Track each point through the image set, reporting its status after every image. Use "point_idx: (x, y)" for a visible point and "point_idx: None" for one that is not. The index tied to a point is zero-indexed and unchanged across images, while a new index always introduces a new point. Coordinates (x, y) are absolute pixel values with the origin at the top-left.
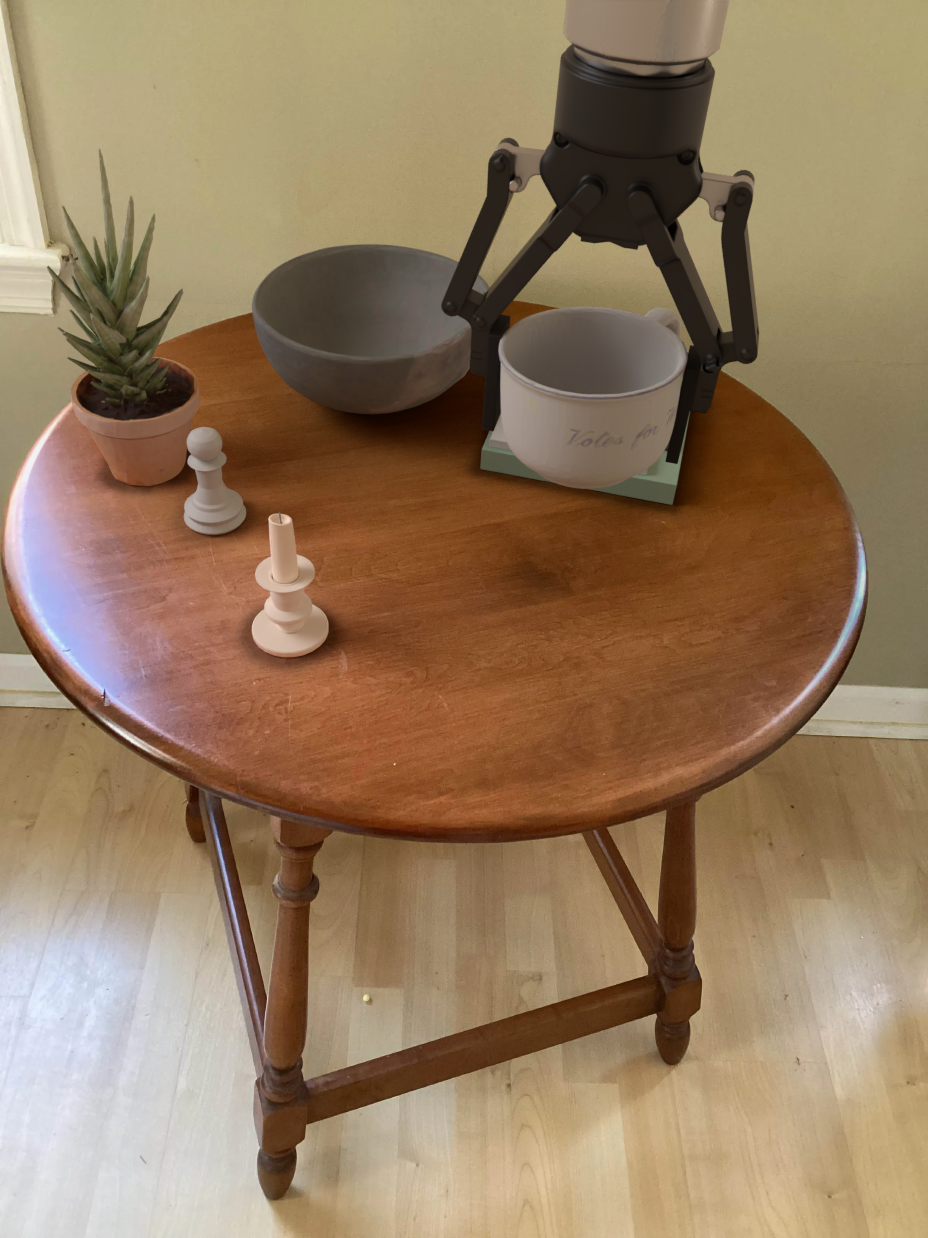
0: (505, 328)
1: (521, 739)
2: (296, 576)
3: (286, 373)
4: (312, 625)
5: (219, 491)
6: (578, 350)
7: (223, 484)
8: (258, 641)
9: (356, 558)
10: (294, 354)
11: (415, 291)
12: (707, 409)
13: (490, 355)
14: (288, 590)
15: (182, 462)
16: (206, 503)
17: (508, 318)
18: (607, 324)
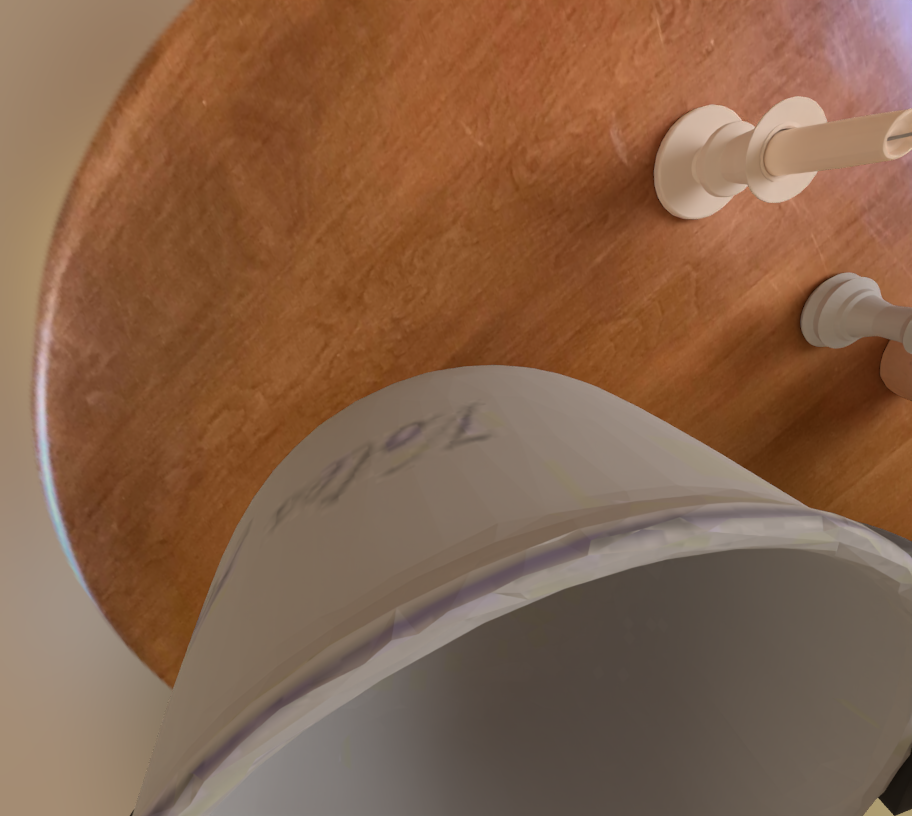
0: (909, 762)
1: (344, 114)
2: (769, 152)
3: (863, 523)
4: (679, 177)
5: (867, 315)
6: (595, 783)
7: (867, 328)
8: (733, 113)
9: (662, 332)
10: (893, 541)
11: None
12: (132, 813)
13: None
14: (773, 112)
15: (891, 365)
16: (869, 297)
17: (903, 803)
18: None
